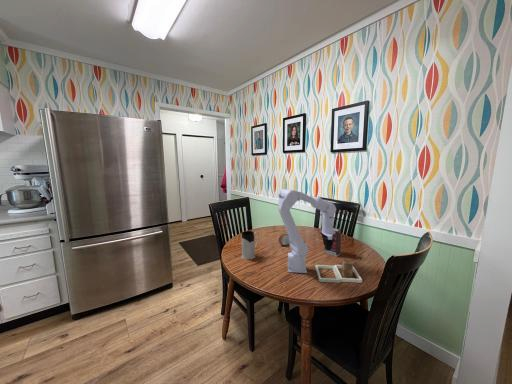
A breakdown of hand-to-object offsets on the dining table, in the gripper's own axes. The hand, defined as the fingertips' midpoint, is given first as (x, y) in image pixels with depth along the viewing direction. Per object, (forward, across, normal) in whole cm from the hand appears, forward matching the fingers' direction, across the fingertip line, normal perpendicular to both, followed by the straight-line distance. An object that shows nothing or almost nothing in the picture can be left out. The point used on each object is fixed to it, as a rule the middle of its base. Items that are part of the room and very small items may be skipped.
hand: (327, 247), depth 116 cm
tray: (+9, -11, -8) cm, 17 cm away
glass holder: (+10, +7, +44) cm, 46 cm away
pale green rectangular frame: (+9, -12, +2) cm, 15 cm away
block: (+10, -11, -8) cm, 16 cm away
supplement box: (+10, +14, -6) cm, 18 cm away
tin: (+10, +27, +21) cm, 36 cm away
